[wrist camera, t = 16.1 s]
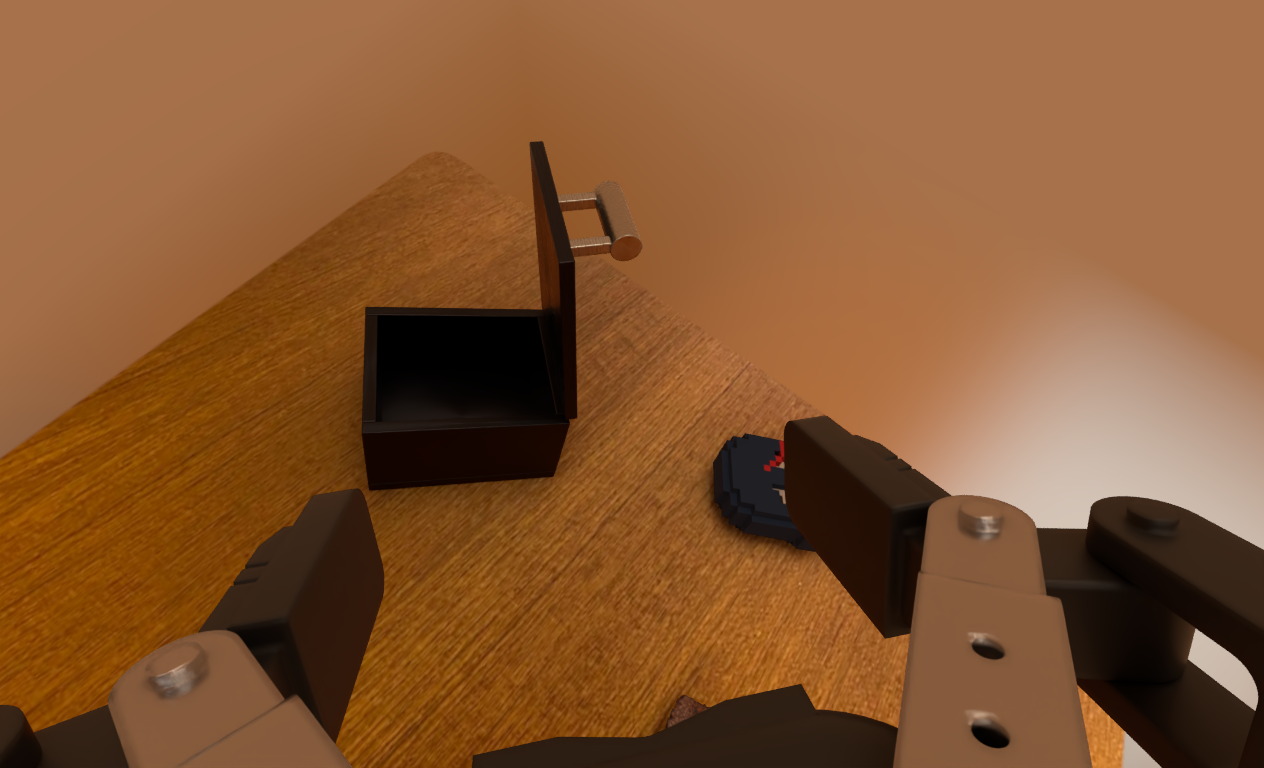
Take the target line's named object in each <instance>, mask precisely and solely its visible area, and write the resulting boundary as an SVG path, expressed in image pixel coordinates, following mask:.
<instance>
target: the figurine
mask: <svg viewBox="0 0 1264 768" xmlns="http://www.w3.org/2000/svg"><path fill="white" fill-rule="evenodd" d="M713 469H714V495H715V503H718V508H721V509H722V517H728V518H729V524H732V525H735V526H736V528H739V530H742V532H743V533H747V534H753V535H758V536H764V537H770V538H775V539H781V540H787V543H791V545H792V546H796V549H802V550H808V551H814V552H815V550H814V549H813V548H812V546H811V545H810V544H809V543H808V541H807V540H806V539H805V538H804V536H803V535H802V534H801V533H800V531H799V530H798V529H797V528H796V526H795V525H794V524H793V522H792V520H791V518H790V516H789V513H788V510H787V506H786V501H785V486H784V441H781V440H776V439H771V438H766V437H761V436H756V435H751V434H746V433H745V434H744V436H743V437H742V438H740V437H735V436H733V437H732V438H731V440H730V441H729V440H727V441H726V443H725V444H724V446H723V447H722V449H721V450H720V452H719V454H718V456H717V457H716V459H715V461H714V462H713Z"/></svg>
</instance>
